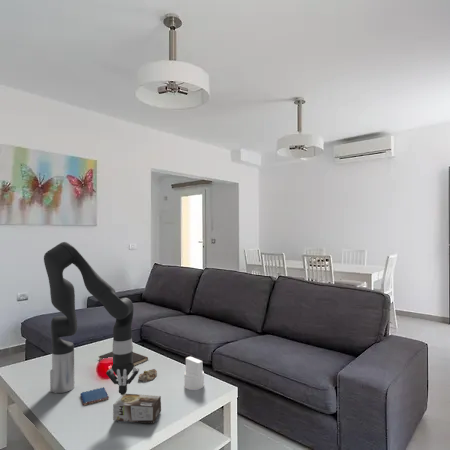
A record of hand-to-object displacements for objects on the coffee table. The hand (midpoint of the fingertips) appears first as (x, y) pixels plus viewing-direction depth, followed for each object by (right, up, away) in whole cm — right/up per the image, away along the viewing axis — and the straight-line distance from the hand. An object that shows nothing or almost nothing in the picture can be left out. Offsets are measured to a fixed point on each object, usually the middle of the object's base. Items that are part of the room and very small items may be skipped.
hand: (123, 393), depth 134 cm
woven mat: (-17, -9, +14) cm, 24 cm away
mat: (+7, -9, 0) cm, 11 cm away
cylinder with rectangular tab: (+26, -9, +24) cm, 37 cm away
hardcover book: (-16, -9, +55) cm, 58 cm away
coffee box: (-2, -5, 0) cm, 5 cm away
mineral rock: (+2, -9, +33) cm, 35 cm away
